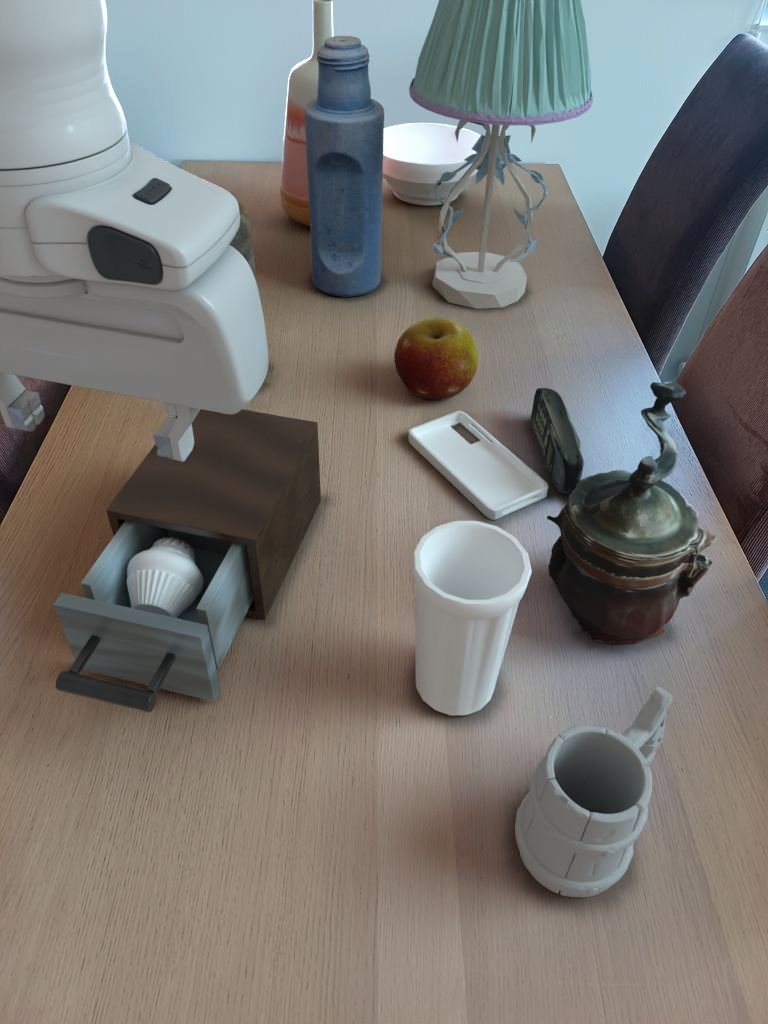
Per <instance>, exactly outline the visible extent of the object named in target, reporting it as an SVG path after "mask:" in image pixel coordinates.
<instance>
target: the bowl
mask: <svg viewBox="0 0 768 1024" xmlns="http://www.w3.org/2000/svg"><path fill="white" fill-rule="evenodd" d="M457 126H458V125H457ZM457 126H456V125H452V124H451V125H450V124H444V123H433V122H411V123H401V124H396V125H391V126H387V127H384V134H383V135H384V141H383V155H384V157H383V180H384V182H385V184H386V186H387V187H388V188H389V190H391V191H392V193H393V195H394V196H395V197H396V198H397V199H398V200H400V201H402V202H405V203H408V204H412V205H415V206H417V205H418V206H440V205H442V204H441V203H440V202H439V201H438V199H437V196H436V194H435V192H434V188H435V185H436V182H437V181H438V180H440V178H441V176H442V174H443V173H445V172H451V173H452V172H453V171H455V170H457V169H458V168H460V167H461V166H462V165H464V164H465V163H466V162H467V161H465V160H464V159H466V158H467V157H469V156H470V155H472V154H476V151H474V150H472V148H473V146H474V145H475V143H476V142H477V141H478V139H479V138H480V136H481V134H480V133H477V132H475V131H473V130H470V129H467V128H464V127H462V128H461V129H460V132H459V137H458V142H457V140H456V136H455V131H456V128H457ZM472 164H473V163H472ZM472 164H470V165H468V166H467V167H465V168H464V169H462V170H460V171H459V172H457V173H456V175H455V176H454V177H453V178H452V179H451V180H449V181H447V182H442V183H441V184H440V186H439V187H438V188H437V190H438V193H439V195H440V198H441V200H442V201H443V202H444V203H445V201H446V199H447V197H448V195H449V193H450V191H451V189H452V188H453V187H454V185H455V184H456V183H457V182H458V181H459V179H460V178H461V177H462V176H463V175H464V173H465V172H466V171H467V170H468V169H469V167H470V166H471V165H472ZM477 172H478V170H477V169H475V170H474V172H473V173H472V174H471V175H470V176H469V178H468V179H467V180H466V181H465V182H464V184H463V185H462V186H461V187H460V188H459V190H458V191H457V192H456V193H455V195H454V196H453V197H452V199H451V202H453V201H456V199H458V197H459V196H460V194H461V193H462V192H463V191H464V190H466V189H467V187H468V185H469V184H470V182H471V181H473V179H474V177H476V174H477Z"/></svg>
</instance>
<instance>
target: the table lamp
mask: <svg viewBox="0 0 768 1024" xmlns="http://www.w3.org/2000/svg"><path fill="white" fill-rule="evenodd" d="M588 47H589V46H588V38H587V30H586V20H585V16H584V12H583V6H582V0H438V3H437V5H436V8H435V12H434V14H433V18H432V20H431V24H430V26H429V29H428V32H427V34H426V37H425V39H424V42H423V45H422V48H421V50H420V53H419V56H418V58H417V65H416V69H415V70H416V71H415V75H414V77H413V78H412V79H411V82H410V84H409V86H408V93H409V97H410V98H411V100H412V102H414V103H415V104H416V105H418V106H419V107H421V108H423V109H425V110H426V111H429V112H431V113H434V114H437V115H439V116H443V117H446V118H450V119H454V120H458V123H457V128H456V131H455V136H456V140H457V142H458V137H459V132H460V129H461V128H464V127H465V126H466V125H467V124H468V123H471V124H475V125H478V126H481V127H483V129H484V130H485V134H480V135H481V136H480V138H479V139H478V141H477V142H476V143H475V145H474V146H473V148H472V150H474V151H476V154H472V155H470V156H469V157H467V158H466V159H464V160H465V161H467V162H466V163H465V164H464V165H462V166H461V167H460V168H458V169H457V170H455V171H453V172H452V173H451V172H445V173H443V174H442V176H441V178H440V180H438V181H437V182H436V185H435V188H434V192H435V194H436V196H437V199H438V201H439V202H440V203H441V205H442V207H441V210H440V213H439V220H438V228H437V231H438V232H437V233H438V237H439V240H438V242H437V244H435V243H433V245H432V246H433V247H432V248H433V249H432V250H433V252H434V253H435V254H438V255H442V256H444V257H445V258H443V259H440V260H438V261H436V264H435V269H434V274H433V278H432V279H433V280H432V284H431V285H432V288H433V289H434V290H436V291H437V292H438V293H439V294H440V295H441V296H442V297H443V298H444V300H446V301H447V303H450V304H455V305H458V306H463V307H467V308H471V309H475V310H480V309H481V310H482V309H483V310H484V309H502V308H505V307H506V306H507V307H508V306H509V305H511V304H515V303H517V302H518V301H519V300H520V299H521V298H522V296H523V295H524V294H525V292H526V288H527V287H526V286H527V281H528V276H527V274H526V272H525V270H524V268H523V267H522V264H521V263H520V261H521V260H522V259H524V258H525V257H526V256H527V255H529V254H531V253H534V251H535V250H536V246H537V242H538V238H537V239H535V240H532V238H531V236H530V235H531V232H532V229H533V223H534V222H533V212H534V211H536V210H538V209H539V208H540V207H541V206H542V204H543V203H544V202H545V201H546V199H547V198H548V188H547V185H546V184H545V181H544V177H543V175H542V174H541V172H539V171H537V170H534V169H529V168H527V167H525V166H524V165H522V164H521V163H520V162H522V159H521V158H520V157H519V156H517V155H516V154H513V153H511V150H510V144H509V143H510V140H511V134H509V135H506V131H507V130H508V129H509V127H510V126H529V127H530V144H532V143H533V140H534V137H535V135H536V132H537V131H536V130H537V129H536V126H541V125H542V126H543V125H548V124H555V123H562V122H565V121H570V120H572V119H576V118H578V117H581V116H582V115H584V114H585V113H587V112H588V111H589V110H590V109H591V108H592V104H593V101H594V97H593V91H592V69H591V62H590V55H589V48H588ZM490 125H491V126H490ZM500 128H501V130H500ZM472 163H473V164H472ZM470 164H472V165H471V166H470V167H469V169H468V170H467V171H466V172H465V173H464V175H463V176H462V177H461V178H460V179H459V181H458V182H457V183H456V184H455V185H454V187H453V188H452V189H451V191H450V193H449V195H448V197H447V199H446V201H445V203H444V202H443V201H442V200H441V198H440V195H439V193H438V190H437V188H438V187H439V186H440V184H441V183H442V182H447V181H449V180H451V179H452V178H453V177H454V176H455V175H456V173H457V172H459V171H460V170H462V169H464V168H465V167H467V166H468V165H470ZM512 164H514V165H516V166H517V167H519V168H520V169H522V170H524V171H526V172H528V173H529V174H530V177H531V178H532V180H533V181H534V182H535V183H536V184H540V187H541V188H542V190H543V194H542V196H543V197H542V198H541V200H540V201H539V203H538V204H536V205H535V206H533V202H532V201H533V199H532V198H531V196H530V194H529V192H528V191H527V189H526V187H525V185H524V183H523V182H522V179H520V177H519V175H518V174H517V171H516V170H515V168H514V167H513V165H512ZM505 167H506V168H507V170H508V172H509V173H510V175H511V177H512V179H513V180H514V182H515V184H516V185H517V188H518V189H519V191H520V193H521V194H522V196H523V198H524V201H525V207H526V210H525V212H524V214H522V213H521V212H520V211H519V210H518V209H517V208H516V207H513V212H514V214H515V216H516V218H517V219H518V221H519V222H520V224H521V225H523V228H524V232H523V234H522V237H521V239H520V241H519V243H518V245H517V246H515V248H513V249H512V250H511V251H510V252H509V253H507V254H506V255H505V256H504V255H501V254H496V253H492V252H489V251H487V243H488V235H489V224H490V216H491V207H492V199H493V189H494V182H495V178H496V180H498V182H499V183H501V185H503V186H505V178H506V177H505V176H506V175H505V173H504V169H505ZM475 169H477V170H478V172H477V173H476V175H475V185H478V184H479V183H480V182H482V180H483V179H484V178H485V177H486V179H485V190H484V191H485V192H484V201H483V210H482V219H481V220H482V221H481V229H480V230H481V231H480V240H479V249H478V251H471V252H470V251H469V252H466V251H465V252H455V251H454V250H453V249H452V248H451V247H450V246H449V245H448V241H447V237H446V235H447V233H448V231H449V230H450V227H451V225H452V224H453V223H456V222H458V221H459V220H460V218H461V217H462V214H463V211H464V206H463V207H461V208H460V209H457V210H455V212H454V208H453V207H452V206H450V204H451V202H452V201H451V199H452V197H453V196H454V195H455V193H456V192H457V191H458V190H459V188H460V187H461V186H462V185H463V184H464V182H465V181H466V180H467V179H468V178H469V176H470V175H471V174H472V173H473V172H474V170H475ZM448 210H449V212H450V214H449V217H448V218H447V219H448V220H447V222H446V224H445V226H444V220H445V218H446V216H447V213H448ZM525 246H526V247H525ZM524 247H525V250H524V253H522V254H519V255H518V256H517V257H514V256H515V255H516V254H517V253H518V252H520V251H521V250H522V249H523V248H524ZM443 249H444V250H445V251H443ZM512 257H514V258H513V259H512Z"/></svg>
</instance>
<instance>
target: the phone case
mask: <svg viewBox="0 0 768 1024" xmlns="http://www.w3.org/2000/svg"><path fill="white" fill-rule="evenodd" d="M459 424H460V425H461V426H463V427H464V428H465V429H466V430H467V431H468V432H469V433H471V434H472V435H473V436H474V437H475V438H476V439H478V441H476V442H474V443H469V442H468V441H467V440H466V439H465V438H464V437H463V436H462V435H461V434H460V433H458V432H457V431H456V430H455V429H454V428H453V427H454V426H456V425H459ZM407 441H408V443H409V444H410V445H411V446H412V447H413V448H414V449H415V450H416V451H417V452H418V453H419V454H420V455H421V456H422V457H423V458H424V459H425V460H426V461H428V462H429V464H431V466H433V467H434V469H436V470H437V471H438V472H439V473H440V474H441V475H442V476H443V477H444V478H445V479H446V480H447V481H448V482H449V483H450V484H451V485H453V487H455V488H456V489H457V491H459V492H460V493H461V494H462V495H463V496H464V497H465V498H466V499H467V500H468V501H469V502H470V503H471V504H472V505H474V507H475V508H476V509H477V510H479V511H480V513H481V514H482V515H484V516H485V517H486V518H487V519H489V520H492V521H496V520H499V519H500V518H503V517H506V516H507V515H509V514H511V513H513V512H516V511H518V510H520V509H523V508H524V507H527V506H529V505H531V504H534V503H536V502H539V501H540V500H542V499H545V498H547V496H548V492H549V491H548V490H549V484H548V483H547V481H546V480H544V479H543V477H541V476H540V475H539V474H538V473H537V472H535V471H534V470H533V469H532V468H531V467H530V466H529V465H527V464H526V463H525V462H524V461H522V460H521V459H520V458H519V457H518V456H517V455H515V454H514V453H513V451H511V450H509V448H507V447H506V446H505V445H503V443H501V442H500V441H499V440H498V439H497V438H496V437H494V436H493V435H492V434H491V433H490V432H489V431H488V430H486V429H485V428H484V427H482V425H480V424H479V423H478V422H477V421H476V420H475V419H474V418H472V417H471V416H470V415H469V414H467V413H466V412H464V411H462V410H456V411H453V412H450V413H448V414H445V415H443V416H441V417H437V418H435V419H432V420H429V421H427V422H425V423H421V424H419V425H416V426H413V427H411V428H409V429H408V437H407Z"/></svg>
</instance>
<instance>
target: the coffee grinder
mask: <svg viewBox="0 0 768 1024" xmlns="http://www.w3.org/2000/svg"><path fill="white" fill-rule="evenodd" d="M649 386H650V388H649V389H650V390H651V392H652V394H653V396H654V397H655V398H656V399H655V400H654V403H653V406H651V407H646V408H643V409H641V410H640V415H641V417H642V418H643V420H644V421H645V423H646V425H647V427H648V428H649V429H650V430H651V431H652V432H653V433H654V434H655V435H656V438H657V440H658V443H659V448H660V449H659V453H660V454H659V456H658V457H657V458H655V459H654V457H653V456H652V455H647V456H645V457H643V458H642V459H640V461H639V463H638V465H637V468H636V470H634V471H632V472H630V471H627V470H624V469H619V470H617V469H616V470H611V471H608V472H598V473H595V474H593V475H589V476H586V477H584V478H581V480H580V481H579V482H578V483H577V485H576V488H575V490H573V491H572V493H571V495H569V497H568V498H567V501H566V503H565V505H564V506H563V507H562V509H561V510H560V511H559V513H558V515H557V516H552V515H547V516H546V520H548V521H550V522H553V523H554V524H555V525H557V527H558V529H559V532H560V536H558V537H557V539H556V541H555V542H554V544H553V545H552V548H551V549H550V551H551V552H550V558H549V563H548V565H547V568H548V576H549V578H550V579H551V580H552V582H553V584H554V586H555V587H556V590H557V592H558V594H559V596H560V597H561V599H562V601H563V602H564V603H565V605H566V606H567V609H568V610H569V611H570V613H571V616H572V618H574V619H575V621H576V622H577V625H578V626H580V628H581V632H583V633H586V634H587V635H588V636H589V637H590V638H591V639H592V640H593V641H599V642H601V643H606V644H611V645H626V644H629V643H631V644H639V643H640V642H642V641H644V640H646V639H650V638H651V637H654V636H657V635H662V634H663V633H665V629H664V626H665V625H667V624H668V623H669V622H670V621H671V620H672V618H673V617H674V615H675V612H676V611H677V609H678V607H679V602H680V600H681V599H683V598H687V597H690V596H691V595H692V594H693V593H694V591H695V588H696V587H695V586H696V585H697V584H698V582H699V581H701V579H702V578H703V577H704V576H706V574H707V572H708V571H709V570H710V568H711V567H712V565H713V560H711V559H710V558H709V557H707V556H706V555H704V554H701V553H702V552H703V551H704V550H705V549H707V548H709V547H710V546H712V544H714V543H715V542H716V540H717V535H716V534H714V533H711V532H709V531H708V530H705V529H702V528H700V526H699V525H700V524H699V523H700V521H699V513H698V511H697V510H696V508H695V507H694V506H693V505H692V504H691V503H690V502H689V501H688V500H687V498H686V497H685V496H684V493H681V492H680V491H678V490H677V489H676V488H675V487H674V486H673V485H671V484H669V483H668V482H666V481H664V479H666V478H667V477H669V476H671V474H672V473H673V472H674V471H675V470H676V467H677V464H678V460H679V454H678V452H677V448H676V447H677V446H676V443H675V441H674V439H673V437H672V436H671V435H670V434H669V432H668V430H667V429H666V427H665V423H664V422H666V421H667V420H668V419H670V418H671V415H672V414H669V413H668V412H667V411H666V406H668V405H669V404H671V403H672V402H675V401H680V400H681V399H683V398H684V397H685V395H686V394H687V391H686V389H685V388H684V386H682V385H681V384H679V383H677V382H674V381H663V382H658V381H657V382H656V381H653V382H651V383H650V385H649Z"/></svg>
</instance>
